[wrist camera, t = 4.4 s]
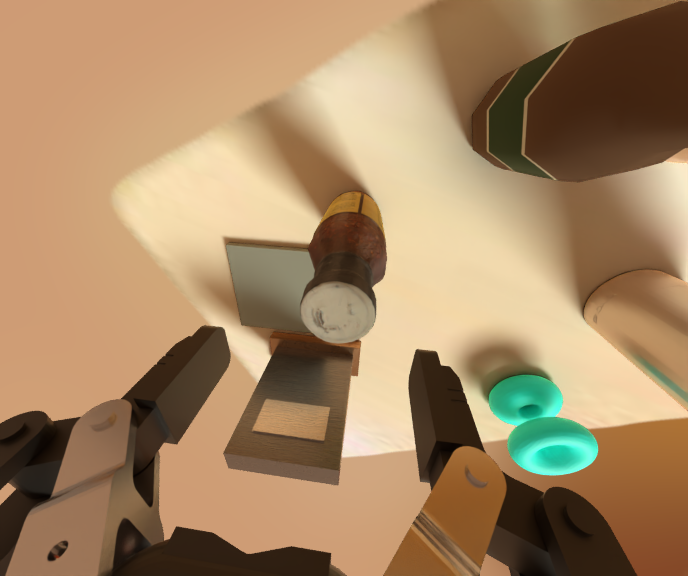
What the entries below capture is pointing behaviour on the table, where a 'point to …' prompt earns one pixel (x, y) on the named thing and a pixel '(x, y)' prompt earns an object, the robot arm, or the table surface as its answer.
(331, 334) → the sauce bottle
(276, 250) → the mat
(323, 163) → the table surface
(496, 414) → the donuts
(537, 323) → the table surface
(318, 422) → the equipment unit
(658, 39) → the beer bottle
